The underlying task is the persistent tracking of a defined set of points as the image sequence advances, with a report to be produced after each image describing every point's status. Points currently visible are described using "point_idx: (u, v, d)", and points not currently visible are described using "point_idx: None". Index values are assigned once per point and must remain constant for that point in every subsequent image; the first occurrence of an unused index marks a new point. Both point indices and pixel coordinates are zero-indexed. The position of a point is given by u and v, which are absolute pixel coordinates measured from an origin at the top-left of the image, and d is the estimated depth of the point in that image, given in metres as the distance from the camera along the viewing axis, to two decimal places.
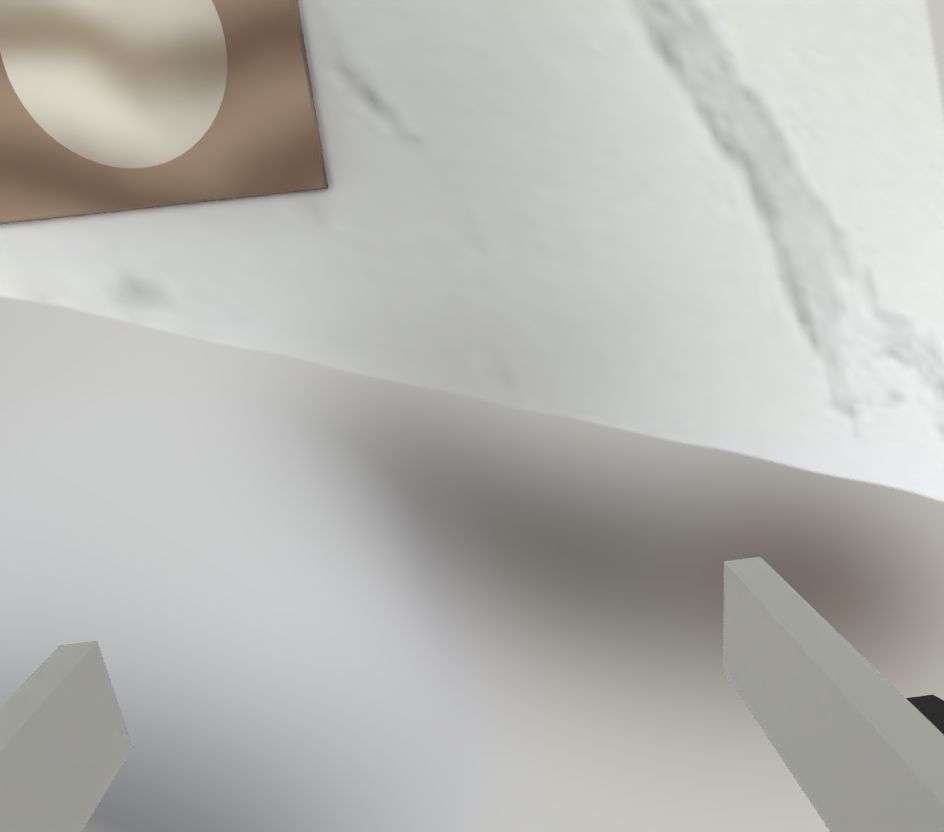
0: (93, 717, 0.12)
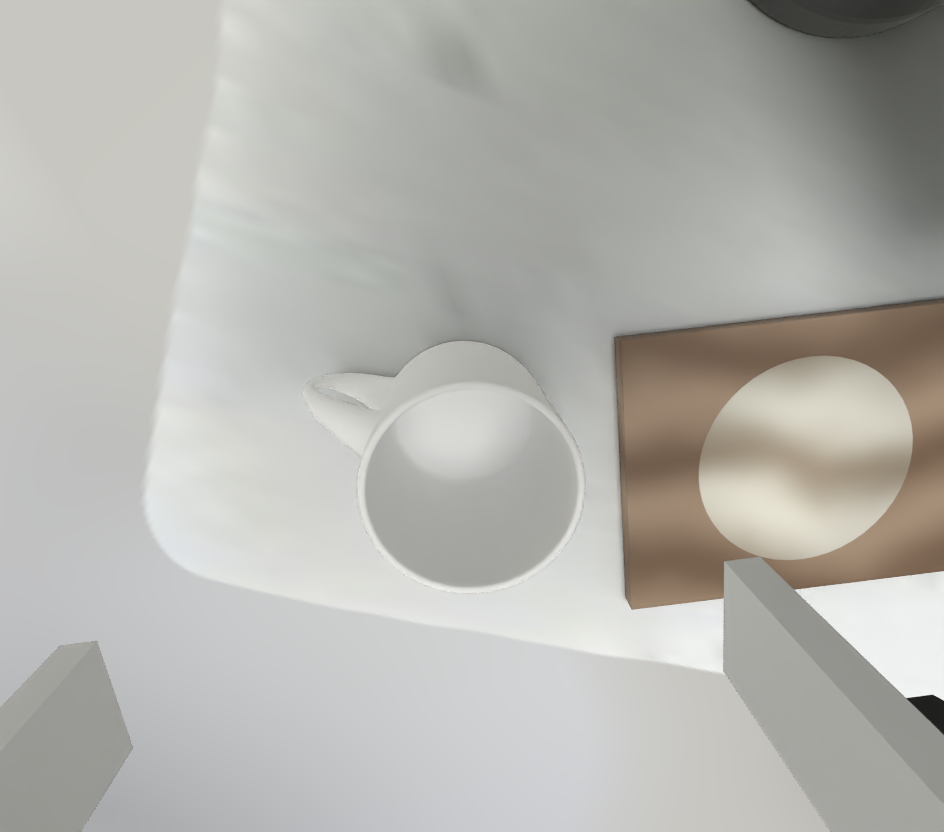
0: (93, 717, 0.12)
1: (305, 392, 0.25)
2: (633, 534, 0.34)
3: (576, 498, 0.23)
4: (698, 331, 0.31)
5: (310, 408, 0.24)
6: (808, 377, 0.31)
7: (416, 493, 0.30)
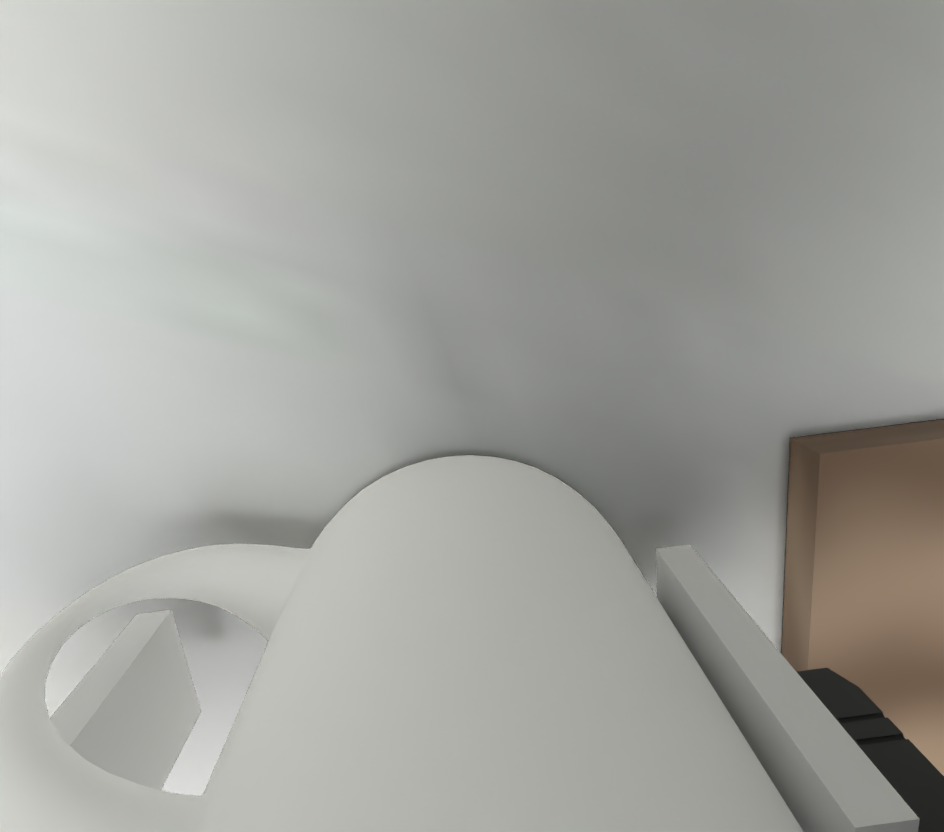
0: (170, 680, 0.12)
1: None
2: None
3: None
4: None
5: None
6: None
7: None
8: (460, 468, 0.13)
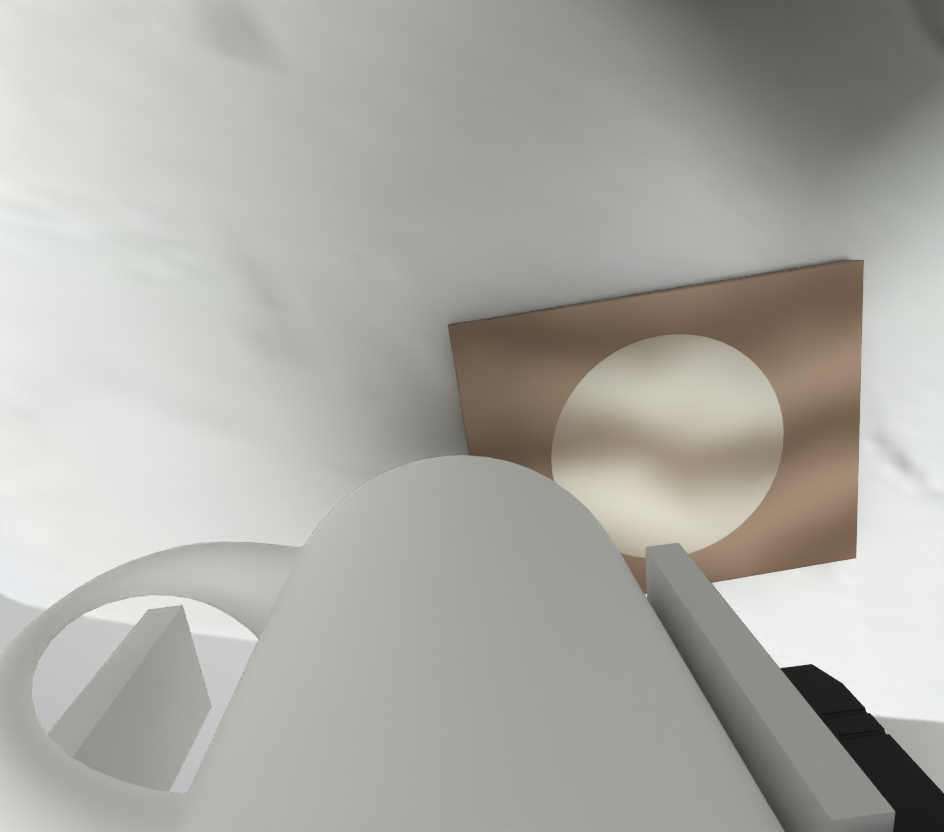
0: (182, 674, 0.13)
1: None
2: None
3: None
4: (533, 314, 0.28)
5: None
6: (660, 358, 0.29)
7: None
8: (453, 468, 0.13)
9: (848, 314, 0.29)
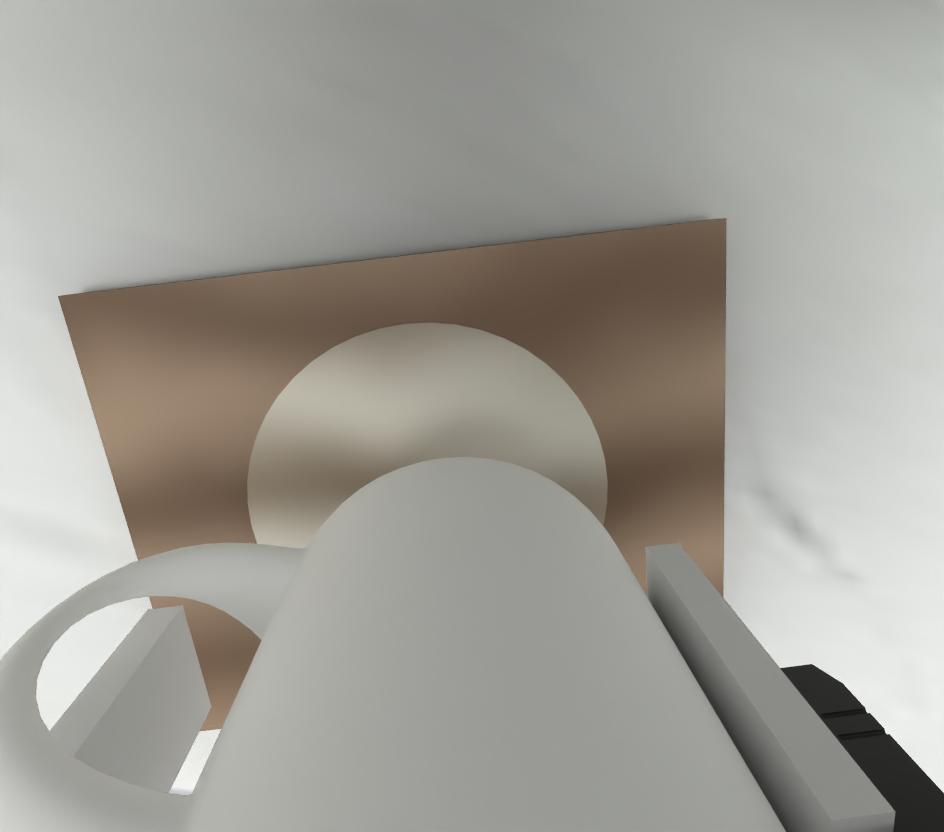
0: (182, 674, 0.13)
1: None
2: None
3: None
4: (197, 280, 0.18)
5: None
6: (406, 359, 0.18)
7: None
8: (456, 470, 0.13)
9: (703, 303, 0.18)
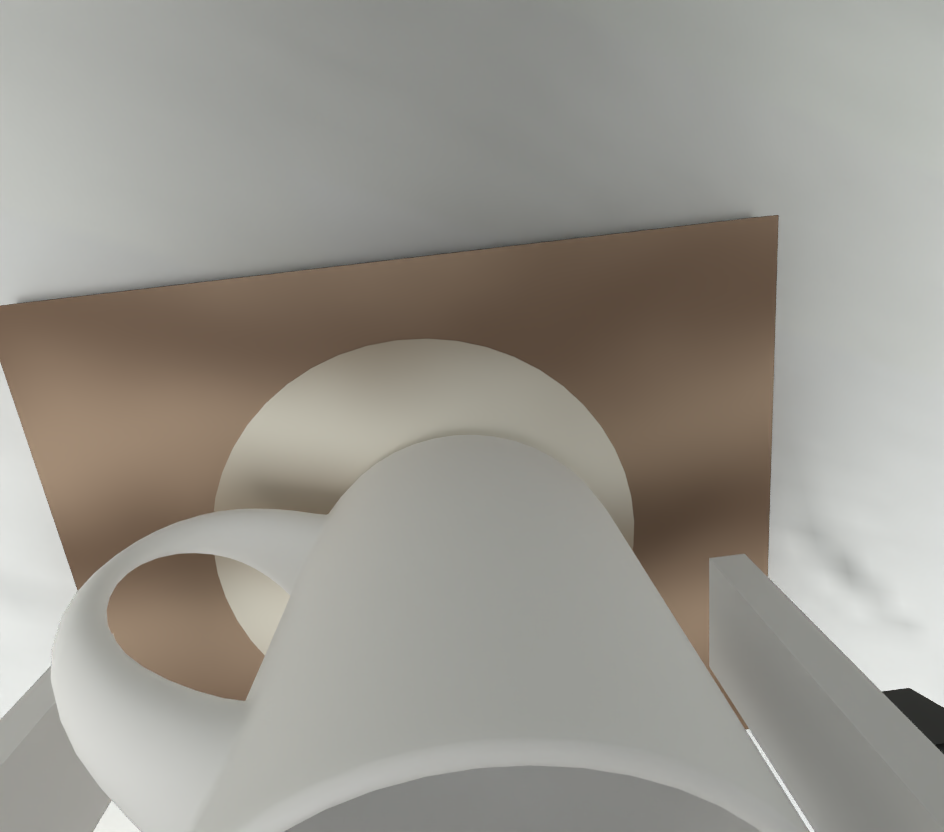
0: None
1: (61, 622, 0.09)
2: None
3: None
4: (149, 289, 0.15)
5: None
6: (399, 382, 0.16)
7: None
8: (465, 444, 0.14)
9: (749, 315, 0.16)
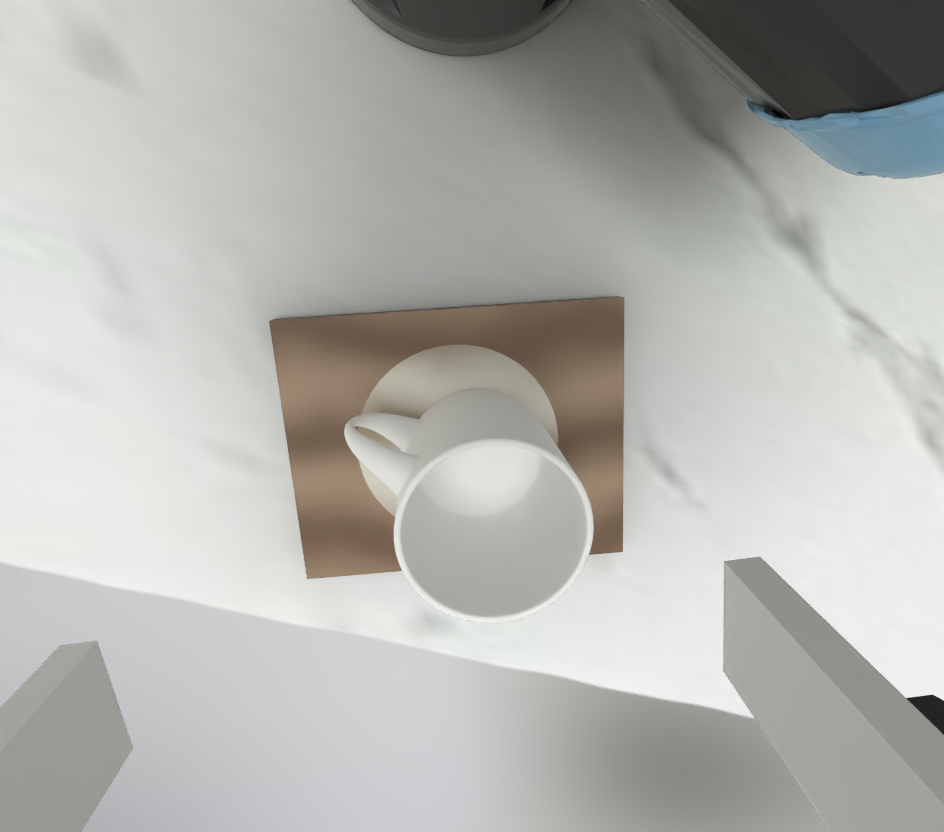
0: (93, 717, 0.12)
1: (347, 433, 0.28)
2: (300, 506, 0.36)
3: (584, 544, 0.26)
4: (343, 316, 0.33)
5: (353, 448, 0.27)
6: (451, 363, 0.34)
7: (432, 525, 0.33)
8: (481, 391, 0.33)
9: (612, 341, 0.34)
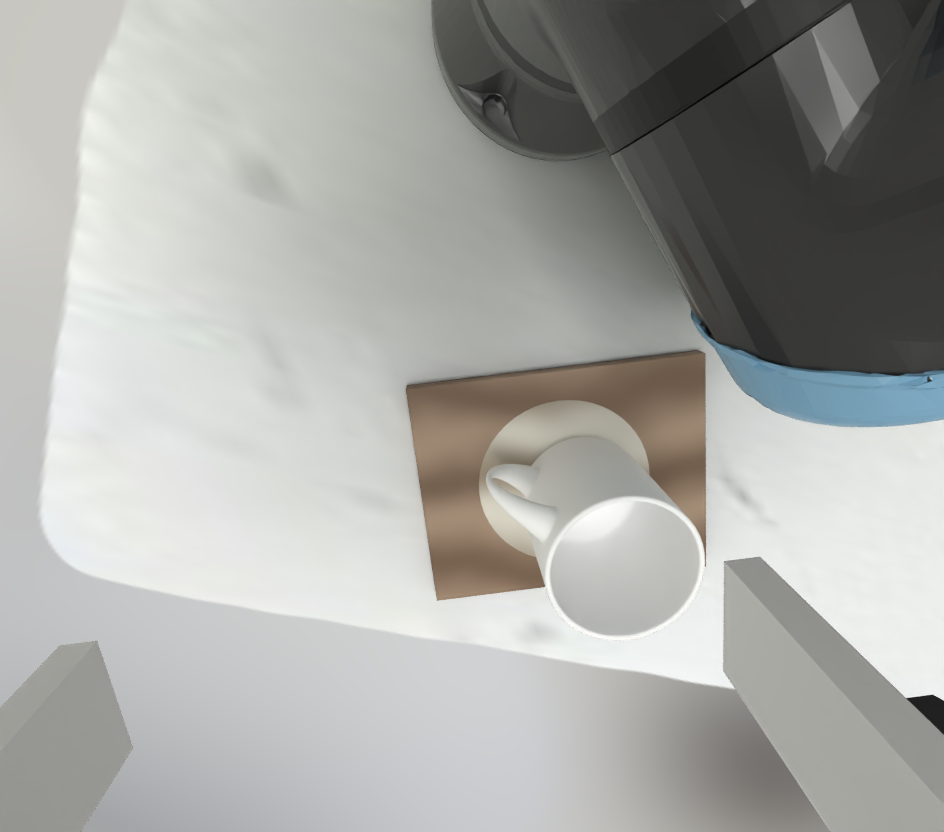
0: (93, 717, 0.12)
1: (493, 489, 0.34)
2: (431, 540, 0.42)
3: (697, 575, 0.32)
4: (467, 382, 0.39)
5: (501, 503, 0.33)
6: (558, 416, 0.40)
7: None
8: (587, 440, 0.39)
9: (695, 390, 0.40)
